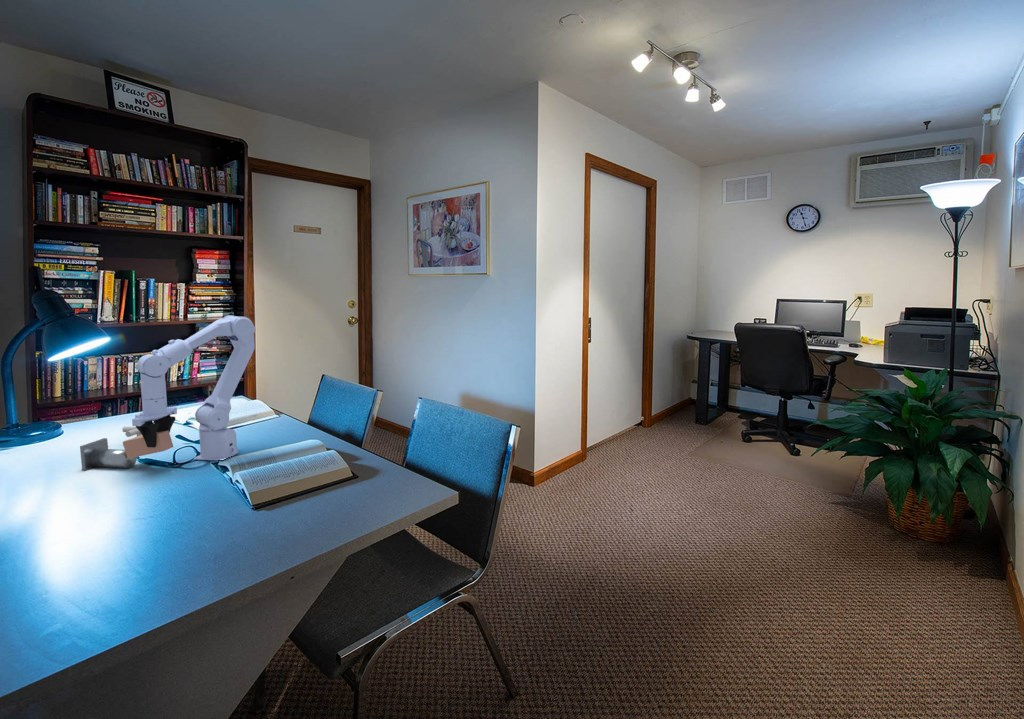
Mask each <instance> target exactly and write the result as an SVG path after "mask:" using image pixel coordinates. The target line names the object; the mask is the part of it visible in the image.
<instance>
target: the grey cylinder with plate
mask: <svg viewBox="0 0 1024 719" xmlns="http://www.w3.org/2000/svg"><path fill="white" fill-rule="evenodd" d="M79 450H80V459H81V460H80V462H81V471H84V472H85V471H88V470H90V469H93V468H95V467H98V468H99V467H100V468H101V467H103V468H124V469H125V468H126V469H130V468H133V466H135V465H136V462H137V460H138V457H133V458H129V459H128V458H127V455H126V451H125V449H116V448H113V449H112V448H109V443H108V437H106V438H105V437H102V438H101V439H97V440H94V441H92V442H89V443H86V444H82V445H80V446H79Z"/></svg>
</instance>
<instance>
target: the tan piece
mask: <svg viewBox="0 0 1024 719" xmlns="http://www.w3.org/2000/svg"><path fill="white" fill-rule="evenodd" d="M170 433H171V432H170ZM170 433H169V430H168V431H163V432H158V433H157V443H156V447H154V448H152V447H147V445H146V442H145V440H144V438H143V436H142V435H140V436H137V435H136V436H135V437H132V438H128V439H126V440H124V441H122V445H123V448H124V450H125V451H126V455H127V458H128V459H129V458H133V457H137V458H138V457H143V456H146V455H152V454H156V453H160V452H161V453H162V452H165V451H168V450H170V449H172V448H174V444H173V440H172V437H171V434H170Z"/></svg>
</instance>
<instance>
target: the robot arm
mask: <svg viewBox="0 0 1024 719" xmlns="http://www.w3.org/2000/svg"><path fill="white" fill-rule="evenodd" d="M255 332H256V327H255V325H254V323H253V322H252V320H251V319H250V318H249V317H247V316H236V315H232V314H231V315H230V314H229V315H225V316H224V317H222V318H219V319H216V320H215V321H213V322H212V323H210V324H209V325H207V326H205V327H204V328H202V329H200V330H199V331H197V332H196V333H194V334H192V335H190V336H189V337H188V338H185V339H184V340H183V339H181V338H180V339H179V338H178V339H170V340H168V341H167V342H168V344H166V345H164V346H162V347H161V348H159V349H153V350H152V351H151V353H152V354H145V355H142V356H141V357H140V358H139V359H138V361H137V363H136V364H135V368H136V370H137V371H138V372H139V373H140V389H141V390H140V392H141V393H140V394H141V404H142V412H140V413H139V414H140V416H138V417H136V418H135V417H134V418H131V422H132V426H131V427H136V428H137V429H138V430H139V431H140V433H141V434H142V436H143V438H144V440H145V442H146V445H147V447H152V448H154V447H156V443H157V433H158V432H163V431H168V430H169V433H171V429H172V427H173V425H174V423H175V421H176V416H173V415H177V414H178V410H177V409H178V408H177V407H175V406H172V407H171V406H169V407H168V401H167V400H168V398H167V383H166V382H167V381H166V377H165V374H167V372H168V371H169V369H170V368H172V367H173V366H175V365H177V364H179V363H180V362H182V361H184V360H185V359H187V358H189V357H191V354H192V352H193V350H194V349H196V348H198V347H200V346H202V345H204V344H205V343H207V342H210V341H211V340H214V339H216V338H217V337H227V338H228V339H229V340H230V343H231V345H232V346H233V349H232V352H231V355H230V356H229V359H228V360H227V363H226V364H225V367H224V369H223V371H222V372H221V375H220V376H219V379H218V380H217V383H216V385H215V386H214V389H213V392H211V394H210V395H209V396H208V397H207V398H206V399H205V400H204V402H203V404H202V405H200V406H199V407H198V408H197V409H196V410H195V413H194V417H195V418H194V419H195V420H196V422H198V423H199V427H198V432H199V433H198V435H199V449H200V450H199V451H200V453H199V455H197V456H195V457H194V458H193V460H196V461H197V460H199V461H218V460H220V459H224V458H228V457H230V458H231V456H232V457H233V456H235V455H237V454H239V453H240V452H239V450H238V445H237V443H238V442H237V440H238V439H237V433H236V431H235V429H232V428H228V426H227V425H228V423H229V421H230V413H231V409H232V406H231V399H232V397H233V396H234V393H235V392H236V389H237V388H238V384H240V380H241V379H242V376H243V374H244V372H245V370H246V368H247V366H248V364H249V361H250V359H251V357H252V355H253V353H254V350H255V349H256V348H255ZM171 415H172V416H171ZM228 459H229V458H228Z"/></svg>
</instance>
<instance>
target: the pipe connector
mask: <svg viewBox="0 0 1024 719" xmlns="http://www.w3.org/2000/svg"><path fill="white" fill-rule="evenodd" d="M138 416H140V413H139V414H135V416H134V418H136V417H138ZM121 429H122V432H123V433H125V437H127V438H129V437H130V438H131V437H133V436H136V437H137V436H140V435H142V434H141V433H140V431H139V430H138V429H137V428H136V426H123V427H122V428H121Z"/></svg>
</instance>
